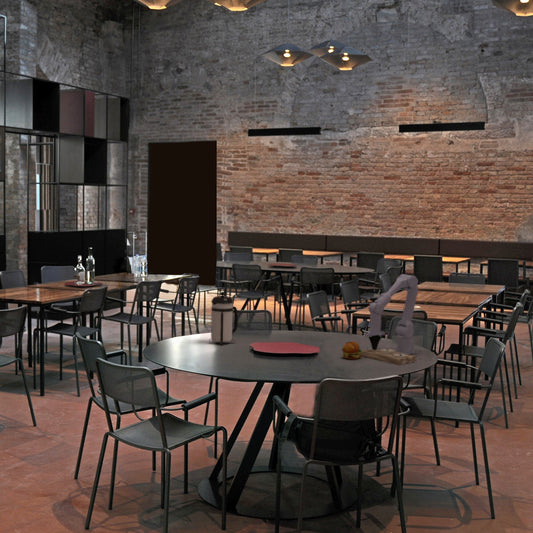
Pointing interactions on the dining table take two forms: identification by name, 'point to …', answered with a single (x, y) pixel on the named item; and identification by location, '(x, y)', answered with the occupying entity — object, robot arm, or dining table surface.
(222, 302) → the coffee press
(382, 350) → the two dot tile
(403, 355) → the three dot tile
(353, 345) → the cheeseburger
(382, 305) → the robot arm
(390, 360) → the tile board
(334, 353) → the dining table surface
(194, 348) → the dining table surface
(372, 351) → the one dot tile
